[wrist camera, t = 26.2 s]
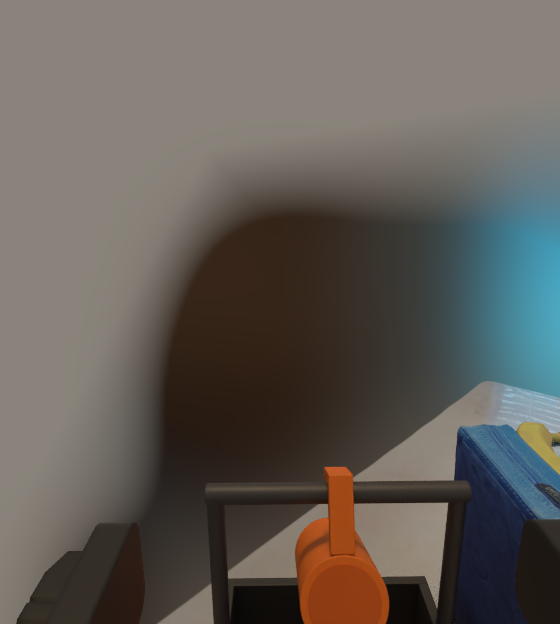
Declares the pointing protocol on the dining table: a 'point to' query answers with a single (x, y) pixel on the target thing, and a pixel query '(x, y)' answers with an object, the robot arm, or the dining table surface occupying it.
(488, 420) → the dining table surface
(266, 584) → the basket
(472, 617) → the book
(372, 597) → the measuring cup
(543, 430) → the banana
